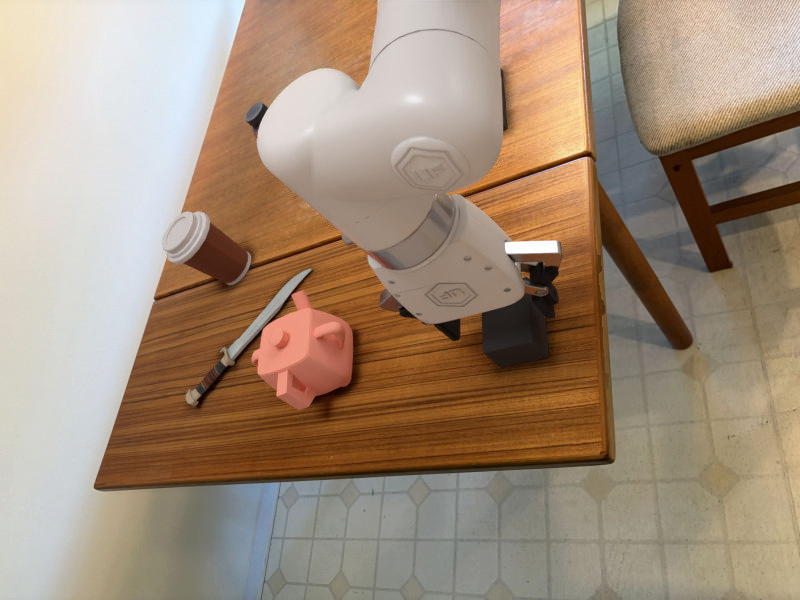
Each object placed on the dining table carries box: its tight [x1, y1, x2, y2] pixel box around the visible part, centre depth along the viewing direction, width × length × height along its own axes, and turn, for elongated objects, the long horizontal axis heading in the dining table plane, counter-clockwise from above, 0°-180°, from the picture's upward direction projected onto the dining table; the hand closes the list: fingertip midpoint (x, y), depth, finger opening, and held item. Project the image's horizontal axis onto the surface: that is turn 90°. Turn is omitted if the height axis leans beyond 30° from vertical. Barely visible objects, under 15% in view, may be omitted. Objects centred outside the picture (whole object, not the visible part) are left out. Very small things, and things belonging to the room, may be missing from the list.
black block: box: [481, 276, 550, 368], centre depth 54 cm, size 5×7×4 cm
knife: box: [185, 268, 313, 407], centre depth 82 cm, size 27×2×5 cm
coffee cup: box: [161, 210, 252, 286], centre depth 89 cm, size 9×9×12 cm
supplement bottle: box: [244, 101, 269, 139], centre depth 93 cm, size 6×6×11 cm
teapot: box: [251, 289, 354, 411], centre depth 66 cm, size 12×12×10 cm
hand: (502, 316), depth 53 cm, fingers open, 9 cm apart
